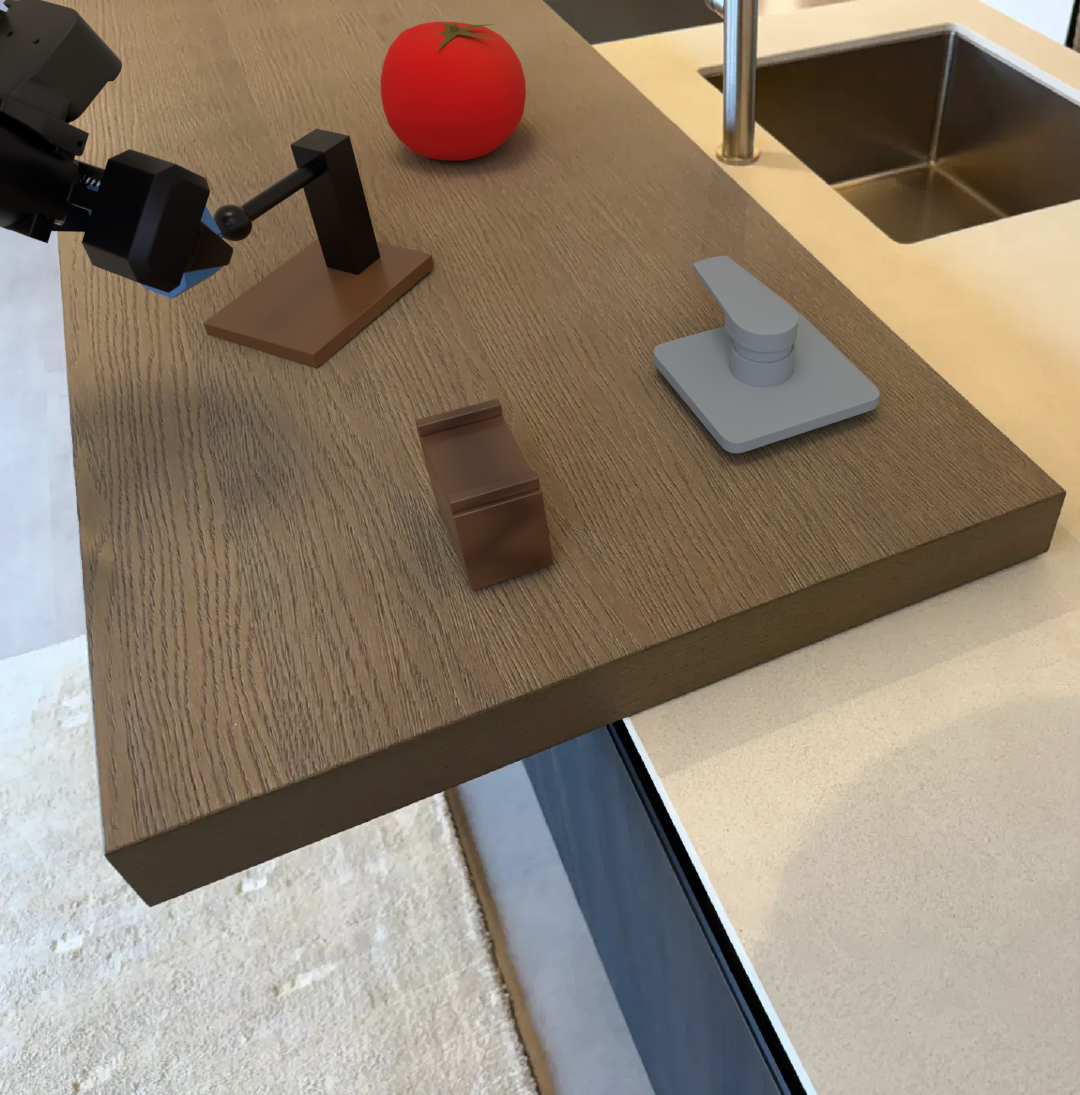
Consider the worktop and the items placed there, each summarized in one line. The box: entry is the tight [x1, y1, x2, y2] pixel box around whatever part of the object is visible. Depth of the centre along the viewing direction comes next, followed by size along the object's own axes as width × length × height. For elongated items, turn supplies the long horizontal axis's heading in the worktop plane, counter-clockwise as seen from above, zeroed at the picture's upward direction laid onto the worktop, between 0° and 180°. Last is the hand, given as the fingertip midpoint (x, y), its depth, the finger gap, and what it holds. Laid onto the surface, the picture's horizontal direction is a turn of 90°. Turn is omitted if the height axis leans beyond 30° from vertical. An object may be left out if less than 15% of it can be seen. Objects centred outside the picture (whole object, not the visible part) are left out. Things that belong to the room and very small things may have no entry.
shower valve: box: [652, 255, 881, 454], centre depth 73 cm, size 12×6×15 cm
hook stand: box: [202, 128, 435, 368], centre depth 77 cm, size 15×10×11 cm, turn 158°
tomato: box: [380, 21, 527, 162], centre depth 95 cm, size 12×14×11 cm
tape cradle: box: [414, 398, 554, 591], centre depth 61 cm, size 5×8×7 cm, turn 25°
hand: (183, 240), depth 63 cm, fingers closed on tape roll, 7 cm apart
